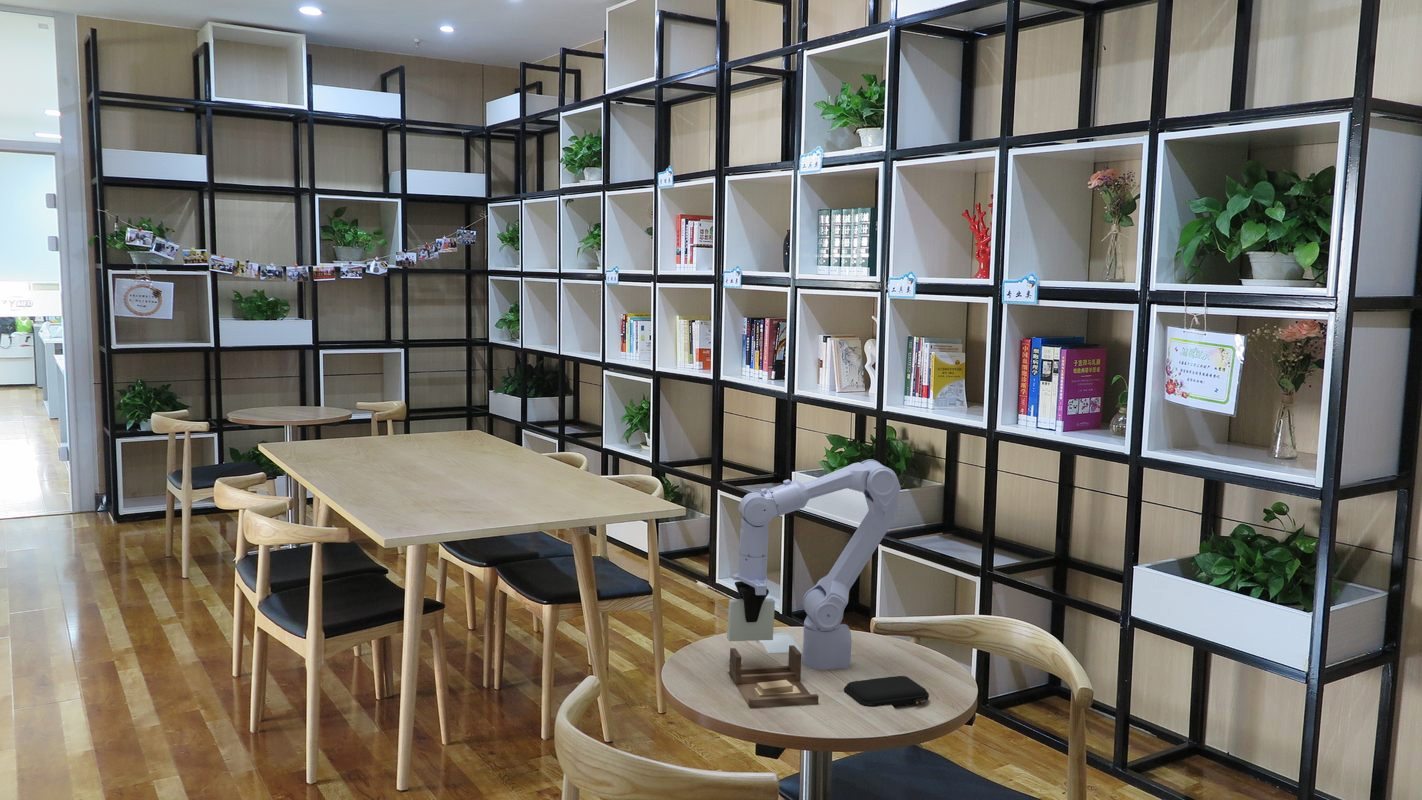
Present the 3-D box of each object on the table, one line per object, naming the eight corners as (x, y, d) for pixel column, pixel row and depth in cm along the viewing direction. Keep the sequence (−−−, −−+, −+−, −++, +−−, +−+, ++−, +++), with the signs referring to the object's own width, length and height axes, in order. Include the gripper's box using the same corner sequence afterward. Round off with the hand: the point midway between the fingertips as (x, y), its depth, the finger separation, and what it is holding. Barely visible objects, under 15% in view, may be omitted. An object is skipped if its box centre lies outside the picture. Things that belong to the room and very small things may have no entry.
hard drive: (805, 652, 224) (790, 632, 236) (766, 653, 223) (754, 633, 235) (804, 659, 224) (790, 639, 236) (766, 660, 223) (753, 640, 235)
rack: (789, 673, 215) (791, 641, 214) (818, 709, 197) (819, 675, 196) (726, 676, 212) (727, 644, 211) (749, 713, 194) (751, 679, 194)
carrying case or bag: (867, 717, 195) (936, 707, 200) (867, 701, 195) (937, 692, 200) (839, 695, 205) (906, 687, 210) (840, 680, 205) (907, 672, 210)
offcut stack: (795, 691, 203) (795, 679, 202) (801, 699, 199) (801, 686, 199) (754, 693, 201) (754, 681, 201) (759, 701, 197) (760, 689, 197)
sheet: (770, 636, 217) (772, 598, 216) (772, 640, 215) (775, 601, 214) (727, 637, 215) (729, 599, 214) (729, 641, 213) (731, 602, 212)
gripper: (725, 544, 219) (722, 608, 221) (742, 563, 205) (739, 632, 207) (758, 544, 221) (755, 608, 222) (778, 563, 207) (774, 631, 208)
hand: (749, 619), depth 215 cm, fingers closed on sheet, 2 cm apart
